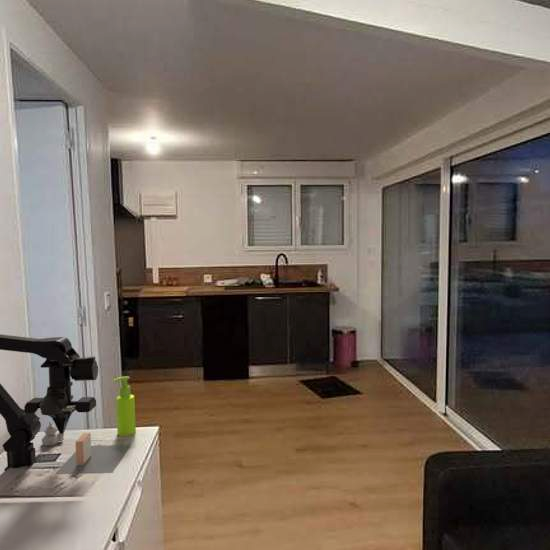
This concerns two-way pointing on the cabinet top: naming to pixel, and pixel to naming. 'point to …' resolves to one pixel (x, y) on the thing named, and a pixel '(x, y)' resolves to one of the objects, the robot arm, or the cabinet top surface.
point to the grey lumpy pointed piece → (51, 436)
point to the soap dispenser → (125, 409)
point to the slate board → (96, 460)
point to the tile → (83, 448)
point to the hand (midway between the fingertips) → (62, 433)
